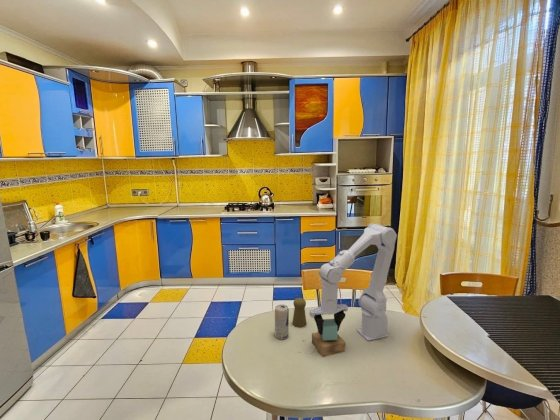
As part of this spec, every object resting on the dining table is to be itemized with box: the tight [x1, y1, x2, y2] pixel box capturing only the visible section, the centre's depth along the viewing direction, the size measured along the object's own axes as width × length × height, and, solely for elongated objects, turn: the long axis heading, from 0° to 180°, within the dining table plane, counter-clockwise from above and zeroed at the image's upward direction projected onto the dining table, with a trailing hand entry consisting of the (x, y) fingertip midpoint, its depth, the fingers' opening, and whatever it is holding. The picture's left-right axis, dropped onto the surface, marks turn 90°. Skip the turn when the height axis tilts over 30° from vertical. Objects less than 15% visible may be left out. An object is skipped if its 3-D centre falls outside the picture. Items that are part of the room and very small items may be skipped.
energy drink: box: [274, 304, 290, 340], centre depth 118 cm, size 5×5×12 cm
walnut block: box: [311, 331, 346, 358], centre depth 112 cm, size 9×9×4 cm
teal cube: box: [321, 318, 338, 341], centre depth 111 cm, size 5×5×5 cm
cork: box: [291, 297, 308, 329], centre depth 127 cm, size 6×6×11 cm
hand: (328, 331), depth 112 cm, fingers closed on teal cube, 6 cm apart
